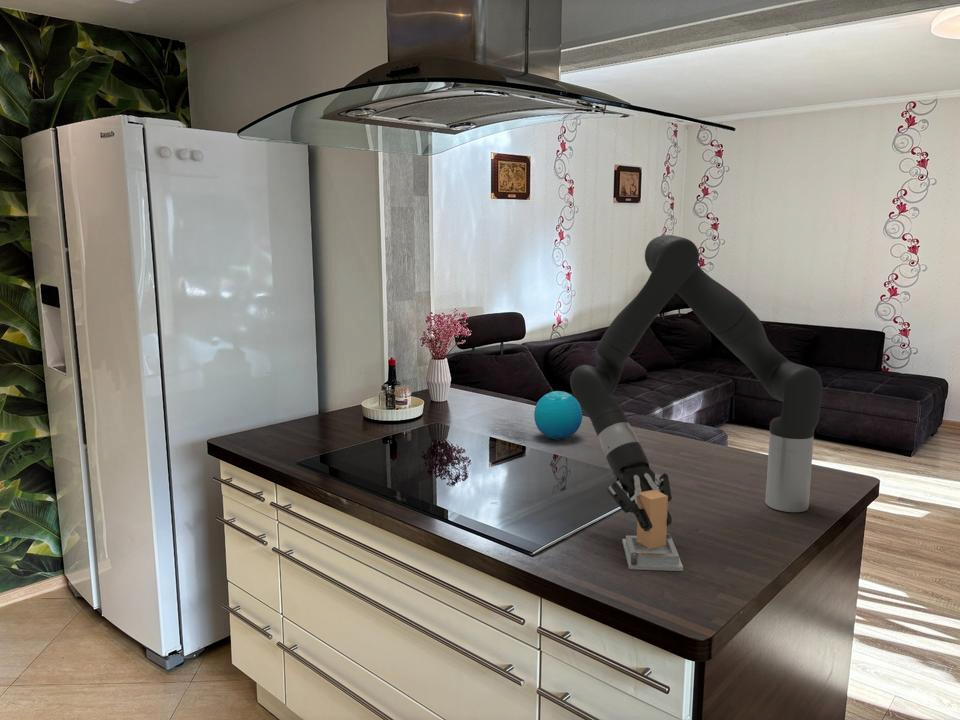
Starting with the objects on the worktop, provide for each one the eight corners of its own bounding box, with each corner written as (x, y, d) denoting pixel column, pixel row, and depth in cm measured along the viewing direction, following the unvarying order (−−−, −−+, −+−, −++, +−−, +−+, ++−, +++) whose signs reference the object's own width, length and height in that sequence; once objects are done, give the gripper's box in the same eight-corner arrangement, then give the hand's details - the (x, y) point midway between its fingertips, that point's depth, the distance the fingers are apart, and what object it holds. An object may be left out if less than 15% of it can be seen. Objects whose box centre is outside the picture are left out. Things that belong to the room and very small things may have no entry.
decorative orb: (569, 448, 211) (570, 399, 208) (525, 441, 218) (525, 393, 216) (589, 436, 223) (590, 389, 221) (547, 429, 231) (547, 384, 228)
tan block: (636, 540, 139) (638, 492, 138) (652, 537, 141) (654, 489, 139) (649, 548, 136) (651, 499, 134) (666, 545, 137) (667, 496, 136)
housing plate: (622, 542, 145) (622, 530, 145) (671, 543, 144) (672, 531, 144) (628, 569, 133) (629, 556, 133) (683, 571, 132) (683, 558, 132)
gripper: (601, 445, 139) (637, 525, 130) (659, 436, 145) (697, 512, 136) (585, 463, 144) (619, 541, 136) (642, 454, 150) (678, 528, 141)
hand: (658, 526), depth 136 cm, fingers closed on tan block, 4 cm apart
